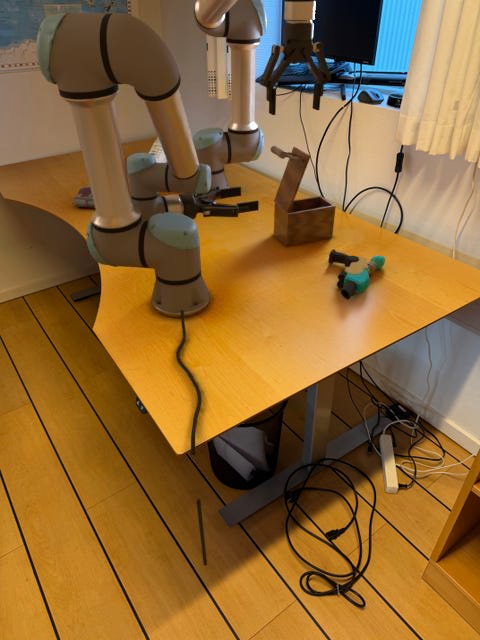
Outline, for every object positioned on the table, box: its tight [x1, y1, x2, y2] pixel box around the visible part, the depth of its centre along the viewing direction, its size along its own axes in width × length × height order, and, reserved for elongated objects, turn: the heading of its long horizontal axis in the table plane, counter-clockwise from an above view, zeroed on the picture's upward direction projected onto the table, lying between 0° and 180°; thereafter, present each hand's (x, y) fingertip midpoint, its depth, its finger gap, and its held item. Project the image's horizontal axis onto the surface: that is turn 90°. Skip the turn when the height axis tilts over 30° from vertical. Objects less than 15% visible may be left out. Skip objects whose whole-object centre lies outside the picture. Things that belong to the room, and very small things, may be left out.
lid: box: [270, 145, 312, 213], centre depth 142 cm, size 18×10×9 cm
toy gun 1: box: [71, 186, 95, 209], centre depth 180 cm, size 4×19×15 cm
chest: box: [273, 195, 337, 247], centre depth 153 cm, size 17×10×11 cm, turn 112°
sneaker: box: [148, 136, 168, 163], centre depth 214 cm, size 10×29×12 cm, turn 163°
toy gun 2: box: [328, 248, 386, 301], centre depth 133 cm, size 4×26×15 cm
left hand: (249, 198), depth 142 cm, fingers open, 13 cm apart
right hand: (294, 111), depth 132 cm, fingers open, 13 cm apart
